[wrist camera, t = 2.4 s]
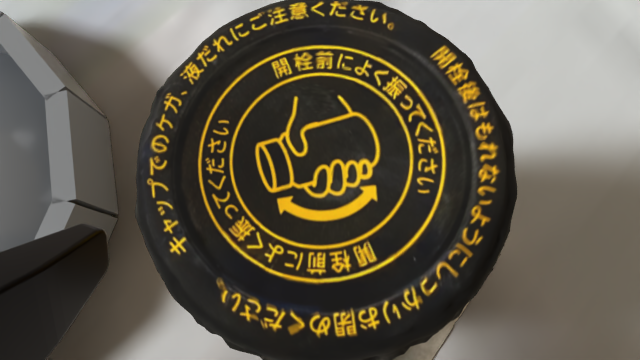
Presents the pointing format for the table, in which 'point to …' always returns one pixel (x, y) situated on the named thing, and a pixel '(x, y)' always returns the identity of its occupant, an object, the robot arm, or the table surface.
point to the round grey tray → (49, 146)
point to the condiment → (326, 183)
